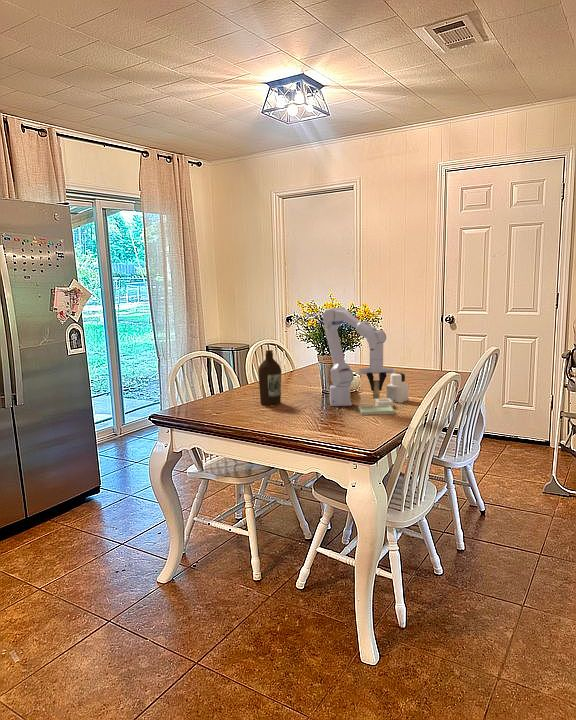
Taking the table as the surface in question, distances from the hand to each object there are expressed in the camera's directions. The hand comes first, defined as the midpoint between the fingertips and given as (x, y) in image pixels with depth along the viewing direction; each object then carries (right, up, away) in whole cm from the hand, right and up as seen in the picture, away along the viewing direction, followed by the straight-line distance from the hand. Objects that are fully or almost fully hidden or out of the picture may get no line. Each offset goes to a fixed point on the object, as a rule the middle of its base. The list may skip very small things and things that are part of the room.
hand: (376, 390), depth 230 cm
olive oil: (-46, -8, +20) cm, 51 cm away
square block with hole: (+5, -8, +10) cm, 14 cm away
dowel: (0, -3, +1) cm, 3 cm away
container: (+13, -6, +21) cm, 26 cm away
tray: (0, -9, +1) cm, 9 cm away
